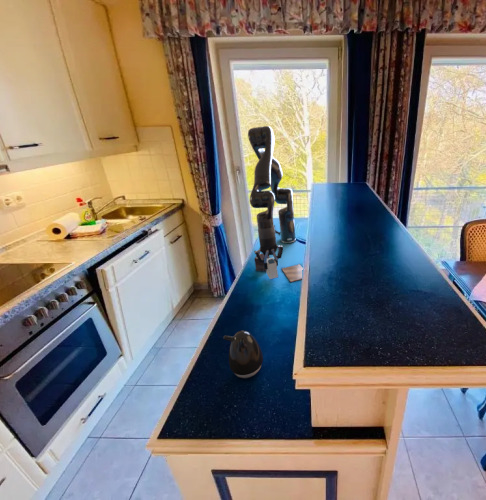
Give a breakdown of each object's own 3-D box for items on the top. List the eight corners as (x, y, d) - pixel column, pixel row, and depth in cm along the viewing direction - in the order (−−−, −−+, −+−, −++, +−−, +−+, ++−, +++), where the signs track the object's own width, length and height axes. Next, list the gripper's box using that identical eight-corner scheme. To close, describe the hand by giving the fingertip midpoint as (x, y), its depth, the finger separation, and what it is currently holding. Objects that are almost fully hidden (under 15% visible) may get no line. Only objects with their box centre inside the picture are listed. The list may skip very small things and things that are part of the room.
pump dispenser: (234, 358, 93) (226, 322, 86) (266, 356, 93) (260, 320, 86) (227, 384, 84) (218, 347, 77) (262, 382, 84) (255, 344, 77)
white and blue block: (266, 273, 138) (264, 257, 134) (274, 271, 139) (272, 255, 135) (270, 279, 133) (267, 262, 129) (278, 277, 134) (276, 260, 130)
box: (266, 271, 143) (265, 259, 140) (255, 271, 144) (253, 258, 141) (270, 266, 148) (269, 253, 145) (260, 265, 149) (258, 253, 146)
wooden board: (281, 269, 145) (281, 268, 145) (299, 264, 148) (299, 264, 148) (290, 282, 133) (290, 281, 133) (309, 277, 137) (309, 276, 137)
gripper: (279, 229, 132) (283, 260, 140) (249, 235, 127) (254, 267, 135) (284, 234, 126) (287, 267, 133) (253, 241, 121) (258, 275, 128)
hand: (271, 267), depth 134 cm, fingers closed on white and blue block, 4 cm apart
